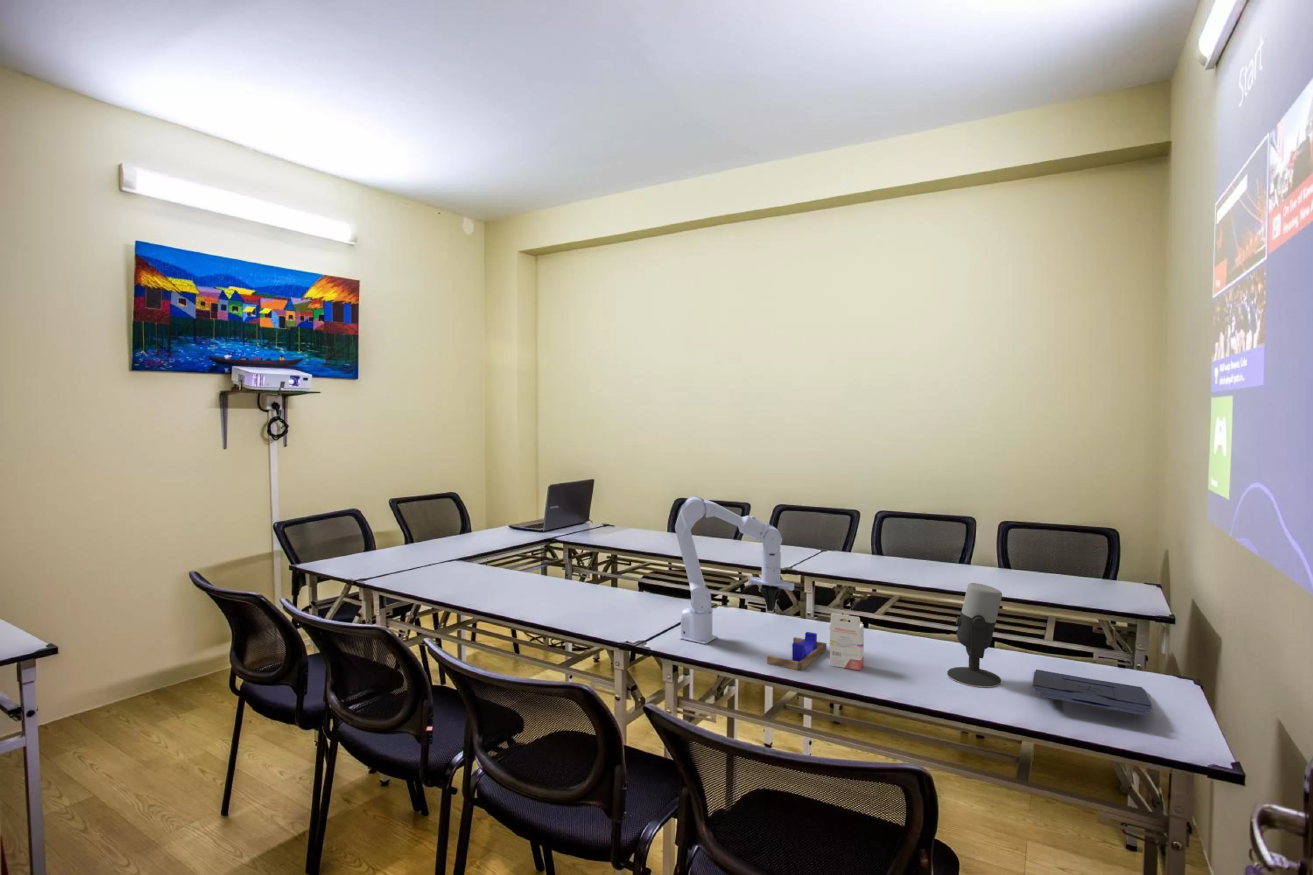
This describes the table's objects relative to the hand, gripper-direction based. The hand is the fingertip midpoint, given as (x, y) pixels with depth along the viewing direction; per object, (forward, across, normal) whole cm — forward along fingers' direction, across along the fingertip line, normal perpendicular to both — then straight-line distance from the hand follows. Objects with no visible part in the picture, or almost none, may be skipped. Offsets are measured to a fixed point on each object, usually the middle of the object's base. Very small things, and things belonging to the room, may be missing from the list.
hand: (770, 610), depth 212 cm
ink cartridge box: (+10, -26, +7) cm, 29 cm away
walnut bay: (+9, -12, +9) cm, 18 cm away
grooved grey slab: (+10, -83, -4) cm, 84 cm away
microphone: (+10, -57, -3) cm, 58 cm away
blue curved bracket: (+10, -14, +9) cm, 19 cm away
